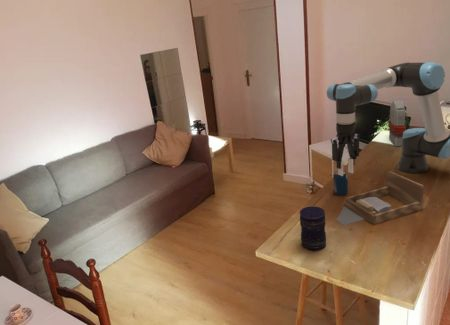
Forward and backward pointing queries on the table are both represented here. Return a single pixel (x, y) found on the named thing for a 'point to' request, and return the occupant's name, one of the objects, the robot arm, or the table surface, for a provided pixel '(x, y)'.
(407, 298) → the table surface
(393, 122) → the grey red bottle
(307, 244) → the storage jar
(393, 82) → the robot arm
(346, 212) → the mat
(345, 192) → the soda can
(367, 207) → the offcut short
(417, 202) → the wooden tray
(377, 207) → the stone block
